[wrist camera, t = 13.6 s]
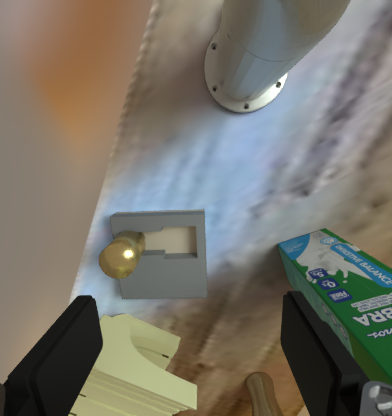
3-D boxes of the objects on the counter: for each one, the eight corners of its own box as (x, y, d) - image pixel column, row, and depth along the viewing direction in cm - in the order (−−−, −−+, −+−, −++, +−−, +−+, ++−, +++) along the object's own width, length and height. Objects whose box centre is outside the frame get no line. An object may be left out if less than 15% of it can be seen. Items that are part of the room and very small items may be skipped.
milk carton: (289, 283, 42) (410, 465, 17) (277, 243, 40) (395, 385, 15) (335, 269, 41) (533, 441, 16) (325, 227, 39) (534, 353, 14)
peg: (120, 225, 38) (96, 246, 30) (148, 224, 38) (132, 245, 30) (123, 251, 40) (101, 279, 31) (151, 250, 40) (137, 278, 31)
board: (116, 212, 39) (109, 217, 36) (204, 209, 38) (204, 214, 35) (127, 288, 43) (122, 299, 40) (207, 286, 42) (207, 297, 39)
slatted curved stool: (127, 276, 42) (75, 361, 25) (198, 308, 44) (196, 409, 26) (78, 377, 49) (12, 498, 32) (141, 402, 51) (110, 531, 33)
